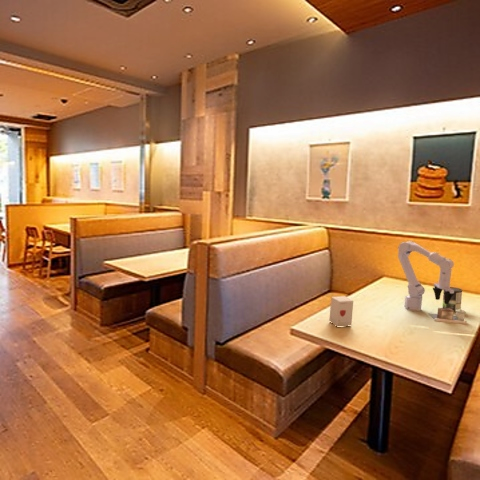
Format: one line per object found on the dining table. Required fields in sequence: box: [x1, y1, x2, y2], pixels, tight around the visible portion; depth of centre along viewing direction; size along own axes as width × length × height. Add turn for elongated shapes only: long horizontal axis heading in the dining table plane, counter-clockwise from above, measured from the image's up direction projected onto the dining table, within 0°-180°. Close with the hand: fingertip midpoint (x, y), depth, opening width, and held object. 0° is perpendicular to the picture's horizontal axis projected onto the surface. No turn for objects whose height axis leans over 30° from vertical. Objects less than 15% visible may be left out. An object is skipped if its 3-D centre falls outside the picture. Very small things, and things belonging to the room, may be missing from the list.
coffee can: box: [442, 286, 463, 313], centre depth 230 cm, size 10×10×14 cm
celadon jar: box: [455, 308, 466, 321], centre depth 210 cm, size 5×5×7 cm
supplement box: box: [328, 295, 354, 327], centre depth 201 cm, size 9×9×15 cm
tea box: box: [436, 307, 455, 320], centre depth 212 cm, size 7×4×6 cm, turn 87°
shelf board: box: [428, 312, 468, 325], centre depth 214 cm, size 16×13×2 cm
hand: (441, 301), depth 217 cm, fingers open, 7 cm apart
